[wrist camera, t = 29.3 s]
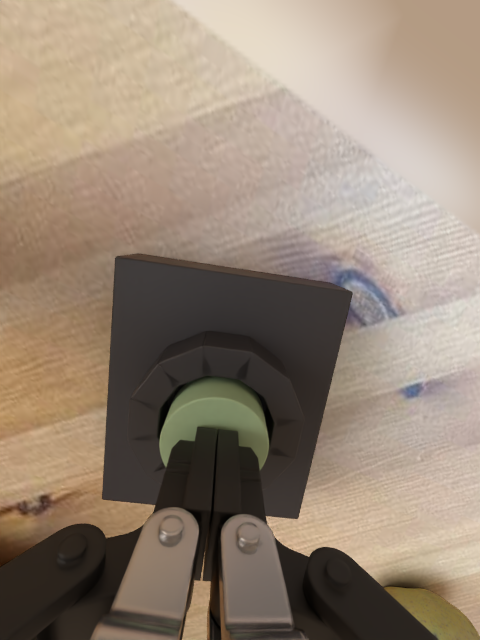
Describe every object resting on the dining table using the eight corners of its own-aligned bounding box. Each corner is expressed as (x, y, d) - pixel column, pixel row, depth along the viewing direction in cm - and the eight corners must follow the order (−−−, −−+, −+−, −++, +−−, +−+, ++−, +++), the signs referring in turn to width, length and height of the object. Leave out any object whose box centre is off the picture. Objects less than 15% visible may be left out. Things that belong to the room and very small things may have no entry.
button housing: (136, 253, 15) (93, 258, 11) (331, 282, 16) (375, 300, 11) (121, 459, 18) (82, 538, 13) (288, 477, 19) (307, 558, 14)
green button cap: (174, 367, 13) (164, 391, 11) (271, 379, 13) (278, 404, 11) (165, 451, 14) (154, 487, 12) (255, 461, 14) (259, 498, 12)
